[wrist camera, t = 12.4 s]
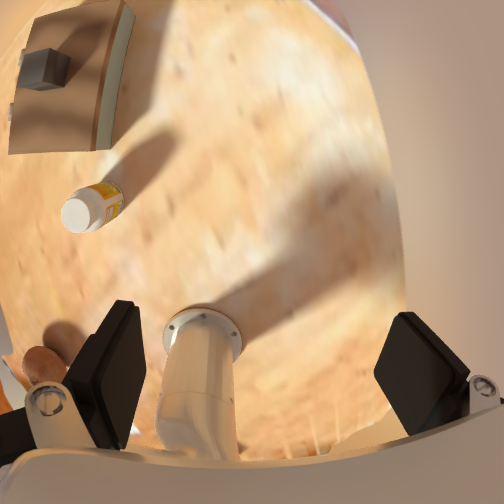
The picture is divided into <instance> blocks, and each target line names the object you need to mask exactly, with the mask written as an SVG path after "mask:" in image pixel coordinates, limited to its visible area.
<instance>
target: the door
mask: <svg viewBox="0 0 504 504" xmlns="http://www.w3.org/2000/svg"><path fill="white" fill-rule="evenodd" d="M124 5H125V2H124V1H123V0H107V1H101V2H96V3H91V4H86V5H82V6H77V7H73V8H69V9H65V10H61V11H58V12H54V13H51V14H48V15H44V16H41V17H38V18H35V20H34V23H33V26H32V28H31V32H30V35H29V38H28V41H27V45H26V48H25V49H22V51H21V55H20V59H19V63H18V66H21V67H20V72H19V76H18V81H17V86H16V91H15V97H14V103H10V109H9V117H8V121H11V126H10V137H9V151H8V155H12V154H25V153H43V152H74V151H96V140H97V131H98V122H99V115H100V108H101V101H102V95H103V89H104V83H105V78H106V73H107V68H108V64H109V59H110V55H111V51H112V46H113V43H114V39H115V35H116V31H117V28H118V24H119V21H120V18H121V14H122V11H123V8H124Z"/></svg>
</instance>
